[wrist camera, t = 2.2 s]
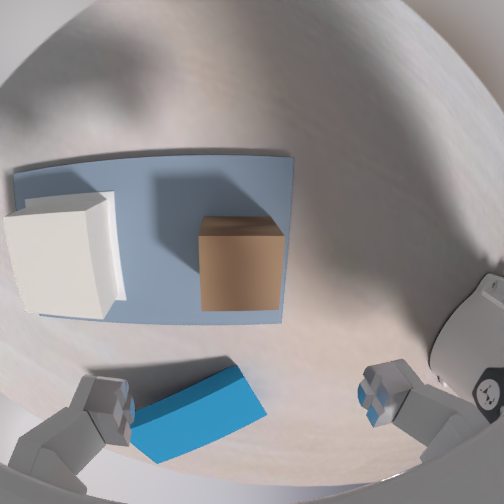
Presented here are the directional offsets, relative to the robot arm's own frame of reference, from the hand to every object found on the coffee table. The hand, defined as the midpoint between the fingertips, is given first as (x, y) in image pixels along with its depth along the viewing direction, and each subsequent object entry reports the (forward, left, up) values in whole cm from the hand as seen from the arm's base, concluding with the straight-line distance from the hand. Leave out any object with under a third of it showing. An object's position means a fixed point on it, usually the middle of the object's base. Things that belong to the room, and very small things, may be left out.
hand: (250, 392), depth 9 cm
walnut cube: (0, 0, -14) cm, 14 cm away
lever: (+6, +19, -16) cm, 26 cm away
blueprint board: (+8, 0, -15) cm, 17 cm away
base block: (+14, 0, -14) cm, 20 cm away
